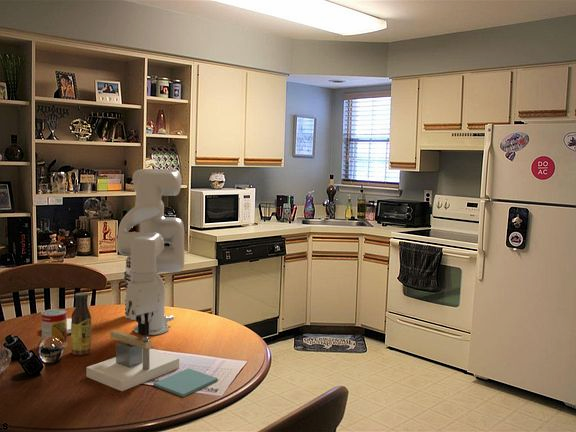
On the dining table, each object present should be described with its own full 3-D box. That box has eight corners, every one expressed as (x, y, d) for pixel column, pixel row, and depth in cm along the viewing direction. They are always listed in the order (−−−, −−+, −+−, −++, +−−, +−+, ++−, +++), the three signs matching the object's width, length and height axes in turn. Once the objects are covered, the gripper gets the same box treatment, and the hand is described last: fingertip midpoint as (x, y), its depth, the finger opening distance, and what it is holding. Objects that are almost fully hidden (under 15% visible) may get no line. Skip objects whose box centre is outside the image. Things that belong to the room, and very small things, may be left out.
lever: (115, 336, 175) (115, 326, 175) (150, 347, 166) (150, 337, 166) (110, 337, 173) (110, 327, 173) (145, 349, 164) (145, 338, 164)
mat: (188, 370, 173) (188, 368, 173) (217, 380, 167) (217, 378, 167) (153, 385, 162) (153, 383, 162) (183, 397, 155) (183, 394, 155)
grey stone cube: (129, 358, 174) (129, 339, 174) (142, 362, 171) (142, 343, 170) (116, 362, 170) (115, 343, 170) (129, 367, 167) (129, 348, 166)
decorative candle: (152, 315, 229) (152, 254, 226) (137, 321, 221) (137, 258, 218) (134, 311, 233) (134, 252, 230) (119, 317, 225) (118, 255, 222)
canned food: (72, 344, 193) (71, 310, 192) (55, 351, 186) (55, 316, 185) (53, 341, 196) (53, 307, 195) (36, 348, 189) (35, 313, 187)
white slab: (144, 355, 185) (144, 327, 184) (179, 367, 176) (179, 338, 175) (86, 376, 167) (86, 345, 166) (122, 391, 158) (121, 358, 157)
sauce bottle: (84, 357, 182) (83, 297, 180) (67, 355, 183) (66, 295, 181) (95, 350, 188) (94, 292, 186) (78, 348, 190) (77, 290, 187)
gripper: (153, 271, 181) (153, 326, 183) (115, 278, 169) (115, 338, 171) (170, 274, 177) (169, 331, 179) (132, 282, 165) (132, 343, 167)
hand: (143, 334), depth 175 cm, fingers closed
